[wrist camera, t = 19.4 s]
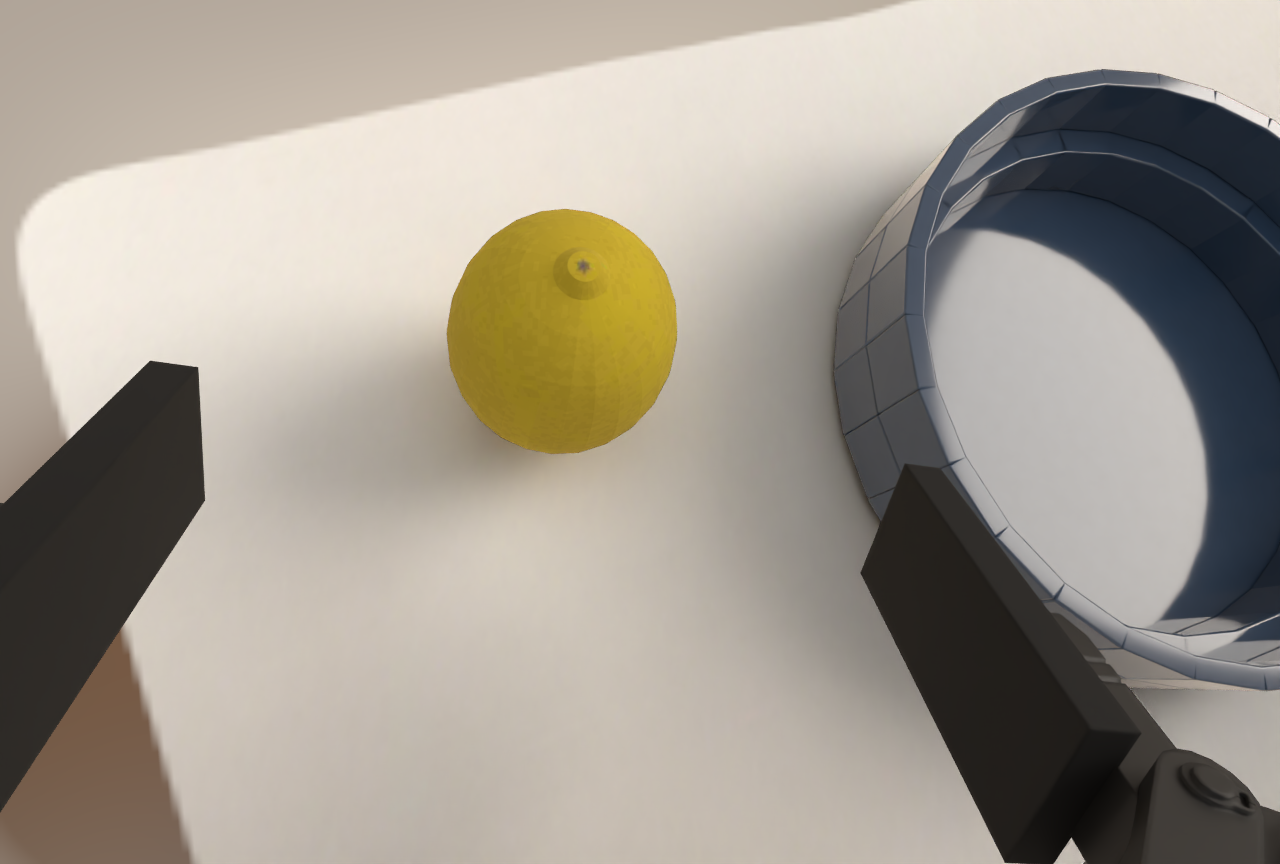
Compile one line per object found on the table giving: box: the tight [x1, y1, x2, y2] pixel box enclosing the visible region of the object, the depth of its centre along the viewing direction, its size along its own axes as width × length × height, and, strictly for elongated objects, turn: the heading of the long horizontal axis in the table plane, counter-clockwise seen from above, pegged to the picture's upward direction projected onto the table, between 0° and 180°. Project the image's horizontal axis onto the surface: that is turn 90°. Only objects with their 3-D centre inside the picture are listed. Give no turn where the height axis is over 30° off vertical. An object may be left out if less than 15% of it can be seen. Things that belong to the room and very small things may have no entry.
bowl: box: [834, 69, 1280, 691], centre depth 26 cm, size 18×18×5 cm
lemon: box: [447, 209, 677, 454], centre depth 21 cm, size 6×6×8 cm
